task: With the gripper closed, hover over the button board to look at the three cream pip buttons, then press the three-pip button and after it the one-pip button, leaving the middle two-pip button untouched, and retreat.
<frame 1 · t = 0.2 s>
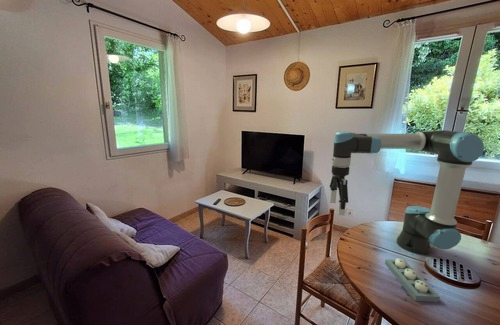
hand: (336, 208, 107), 28 cm above the table, fingers open, 13 cm apart
button board: (408, 280, 98), on the table
button 2: (410, 274, 98), point 3 cm above the table, slide at 0.0 cm
button 1: (400, 264, 105), point 3 cm above the table, slide at 0.0 cm
button 3: (421, 287, 91), point 3 cm above the table, slide at 0.0 cm
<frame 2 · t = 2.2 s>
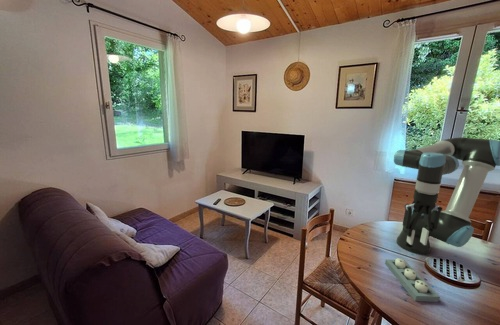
hand: (416, 243, 94), 19 cm above the table, fingers open, 5 cm apart
nothing on the table moved.
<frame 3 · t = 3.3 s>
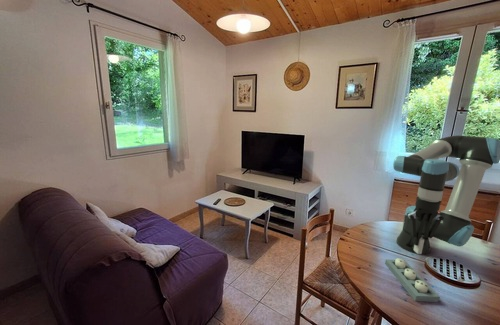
hand: (417, 251, 92), 16 cm above the table, fingers closed
nothing on the table moved.
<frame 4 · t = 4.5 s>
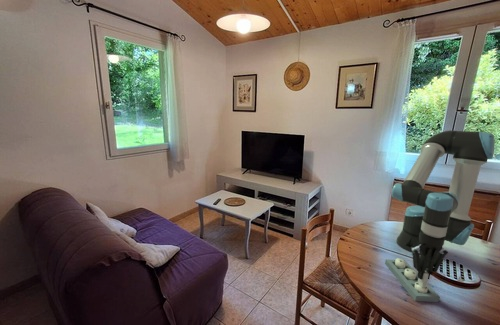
hand: (421, 285, 91), 4 cm above the table, fingers closed
button 3: (420, 288, 91), point 2 cm above the table, slide at 0.9 cm, touching gripper
everything else where it was.
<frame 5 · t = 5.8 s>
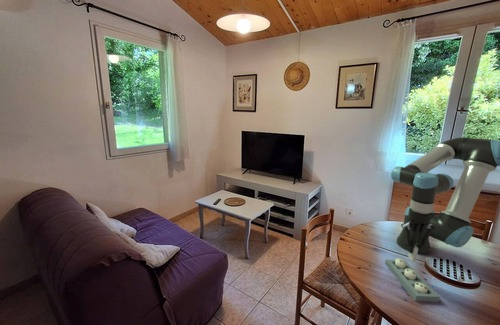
hand: (412, 258, 98), 10 cm above the table, fingers closed
button 3: (420, 289, 91), point 2 cm above the table, slide at 1.0 cm
everything else where it was.
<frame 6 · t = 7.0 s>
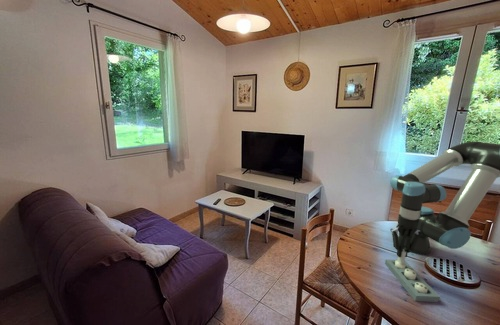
hand: (400, 262, 104), 4 cm above the table, fingers closed
button 1: (400, 265, 105), point 2 cm above the table, slide at 1.0 cm, touching gripper
everything else where it was.
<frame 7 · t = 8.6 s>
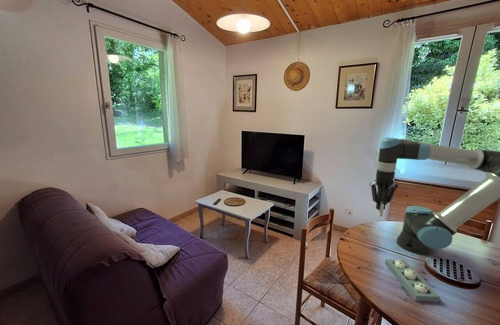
hand: (379, 215, 112), 22 cm above the table, fingers closed
button 1: (399, 265, 105), point 2 cm above the table, slide at 1.0 cm
everything else where it was.
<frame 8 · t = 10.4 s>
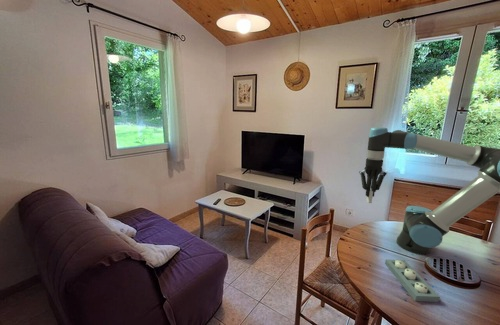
hand: (368, 202, 117), 26 cm above the table, fingers closed
nothing on the table moved.
at the end: button 3 slide at 1.0 cm; button 1 slide at 1.0 cm; button 2 slide at 0.0 cm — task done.
